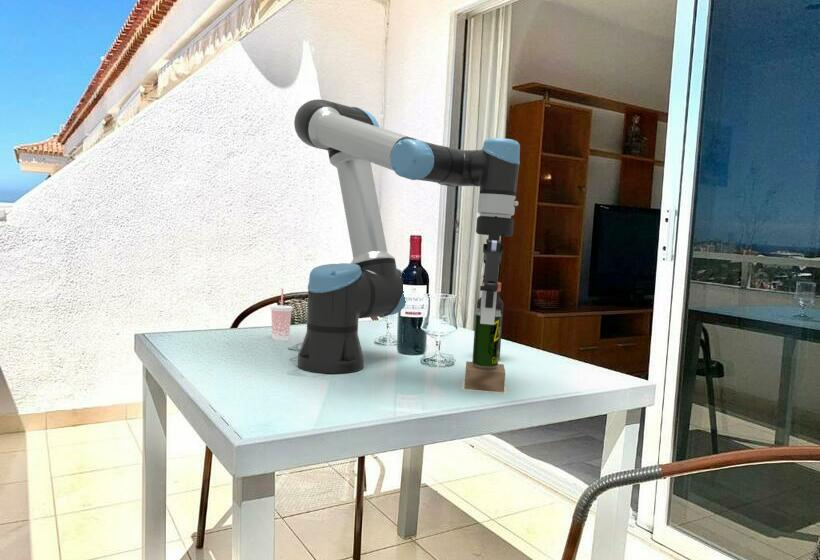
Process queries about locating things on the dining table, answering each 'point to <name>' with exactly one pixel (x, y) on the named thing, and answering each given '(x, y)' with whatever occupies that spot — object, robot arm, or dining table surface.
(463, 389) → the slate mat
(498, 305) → the bottle
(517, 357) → the dining table surface
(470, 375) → the walnut block
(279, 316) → the beverage cup
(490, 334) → the beer can
